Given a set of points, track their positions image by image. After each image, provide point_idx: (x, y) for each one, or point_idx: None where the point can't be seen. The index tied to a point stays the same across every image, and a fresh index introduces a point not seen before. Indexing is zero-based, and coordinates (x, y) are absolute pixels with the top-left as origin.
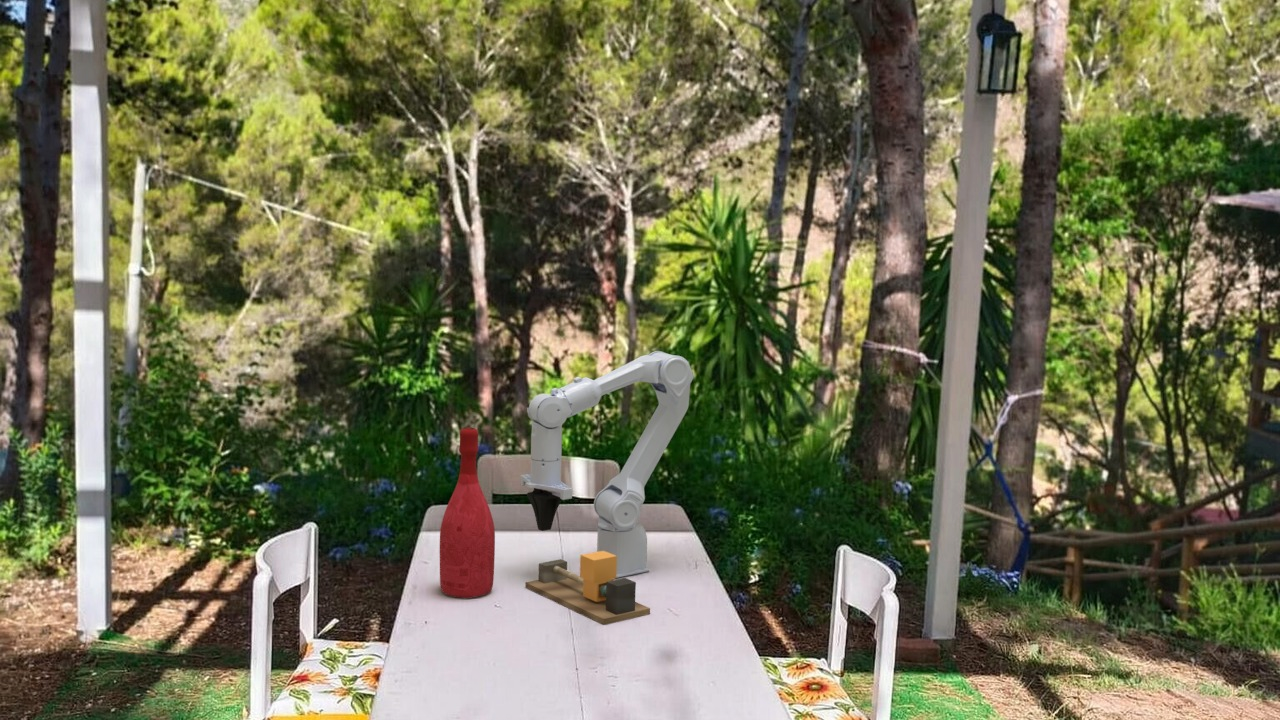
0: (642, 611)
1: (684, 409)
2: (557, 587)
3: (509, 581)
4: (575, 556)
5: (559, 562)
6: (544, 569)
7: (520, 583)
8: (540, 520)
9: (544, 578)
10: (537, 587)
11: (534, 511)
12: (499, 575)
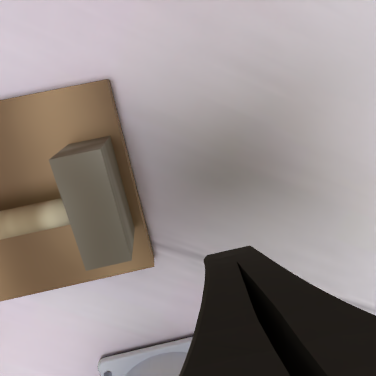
0: None
1: None
2: (6, 171)
3: (205, 51)
4: None
5: (85, 238)
6: (54, 155)
7: (166, 82)
8: (214, 288)
9: (64, 148)
10: (24, 98)
11: (333, 304)
12: (288, 44)
